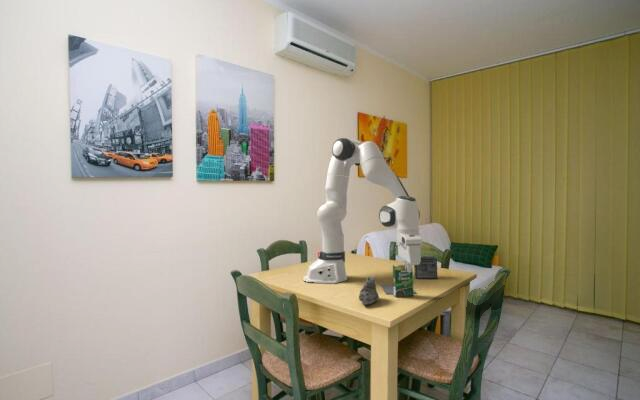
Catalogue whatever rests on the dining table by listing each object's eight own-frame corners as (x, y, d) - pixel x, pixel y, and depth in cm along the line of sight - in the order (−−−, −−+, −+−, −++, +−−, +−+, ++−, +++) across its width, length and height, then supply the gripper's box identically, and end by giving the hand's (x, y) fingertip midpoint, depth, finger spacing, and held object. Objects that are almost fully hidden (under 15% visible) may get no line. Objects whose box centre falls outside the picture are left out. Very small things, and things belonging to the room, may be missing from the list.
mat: (386, 294, 146) (386, 293, 146) (380, 285, 160) (380, 284, 160) (416, 293, 146) (416, 293, 146) (408, 285, 160) (408, 284, 160)
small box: (434, 276, 177) (434, 256, 176) (437, 279, 170) (437, 258, 170) (413, 276, 178) (413, 255, 177) (416, 279, 171) (416, 258, 171)
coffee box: (395, 297, 142) (394, 266, 141) (392, 295, 145) (392, 264, 144) (413, 296, 143) (413, 265, 143) (410, 294, 146) (410, 263, 145)
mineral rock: (364, 308, 129) (363, 282, 129) (345, 301, 137) (345, 277, 137) (388, 302, 136) (387, 277, 136) (369, 295, 145) (369, 272, 145)
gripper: (393, 234, 146) (394, 266, 146) (406, 240, 126) (407, 278, 126) (408, 233, 146) (409, 265, 146) (423, 240, 126) (424, 277, 126)
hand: (408, 271), depth 136 cm, fingers closed
